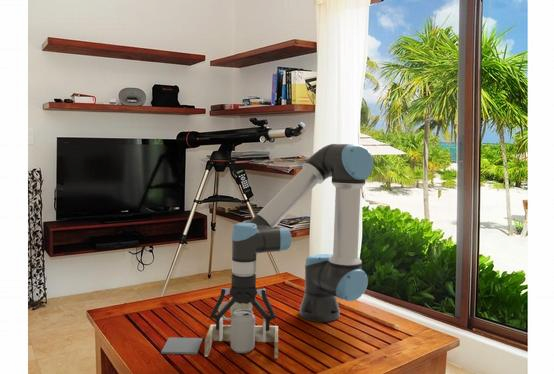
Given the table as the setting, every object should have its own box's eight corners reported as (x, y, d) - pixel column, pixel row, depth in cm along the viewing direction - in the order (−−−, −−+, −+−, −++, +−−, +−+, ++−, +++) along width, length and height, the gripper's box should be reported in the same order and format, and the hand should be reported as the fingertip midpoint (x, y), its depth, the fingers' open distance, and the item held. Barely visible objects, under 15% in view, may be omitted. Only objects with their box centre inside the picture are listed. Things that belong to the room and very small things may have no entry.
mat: (202, 339, 157) (202, 338, 157) (197, 354, 146) (197, 352, 146) (168, 339, 157) (168, 337, 157) (160, 353, 146) (160, 351, 146)
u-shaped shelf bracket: (277, 340, 157) (278, 325, 157) (277, 358, 144) (278, 342, 144) (210, 339, 157) (210, 324, 157) (204, 356, 144) (204, 340, 144)
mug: (249, 332, 164) (249, 303, 163) (214, 328, 166) (214, 300, 166) (255, 323, 172) (255, 296, 171) (221, 320, 174) (221, 293, 174)
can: (245, 356, 145) (245, 317, 144) (225, 350, 149) (226, 312, 148) (259, 347, 151) (259, 310, 150) (240, 342, 155) (240, 306, 154)
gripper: (283, 271, 152) (282, 336, 154) (205, 269, 152) (204, 334, 154) (284, 277, 145) (282, 345, 146) (201, 275, 144) (200, 344, 146)
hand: (242, 340), depth 150 cm, fingers open, 13 cm apart
